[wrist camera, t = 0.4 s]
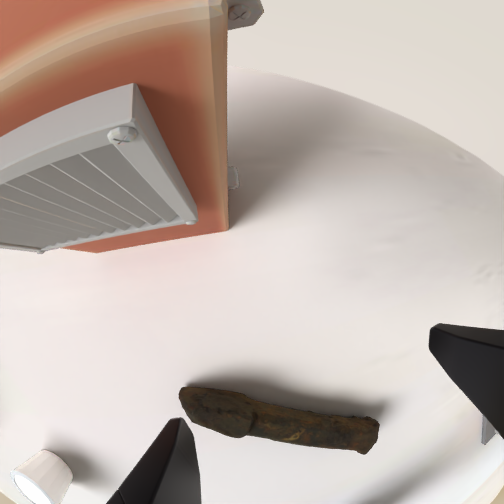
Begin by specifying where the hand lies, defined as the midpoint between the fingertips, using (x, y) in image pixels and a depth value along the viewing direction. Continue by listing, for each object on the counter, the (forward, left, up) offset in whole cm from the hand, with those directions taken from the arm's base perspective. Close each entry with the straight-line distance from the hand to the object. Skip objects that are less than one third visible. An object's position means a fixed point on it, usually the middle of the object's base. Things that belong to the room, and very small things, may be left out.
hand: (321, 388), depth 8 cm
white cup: (-30, +17, -16) cm, 38 cm away
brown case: (+5, +12, -16) cm, 20 cm away
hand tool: (-9, -5, -16) cm, 19 cm away
